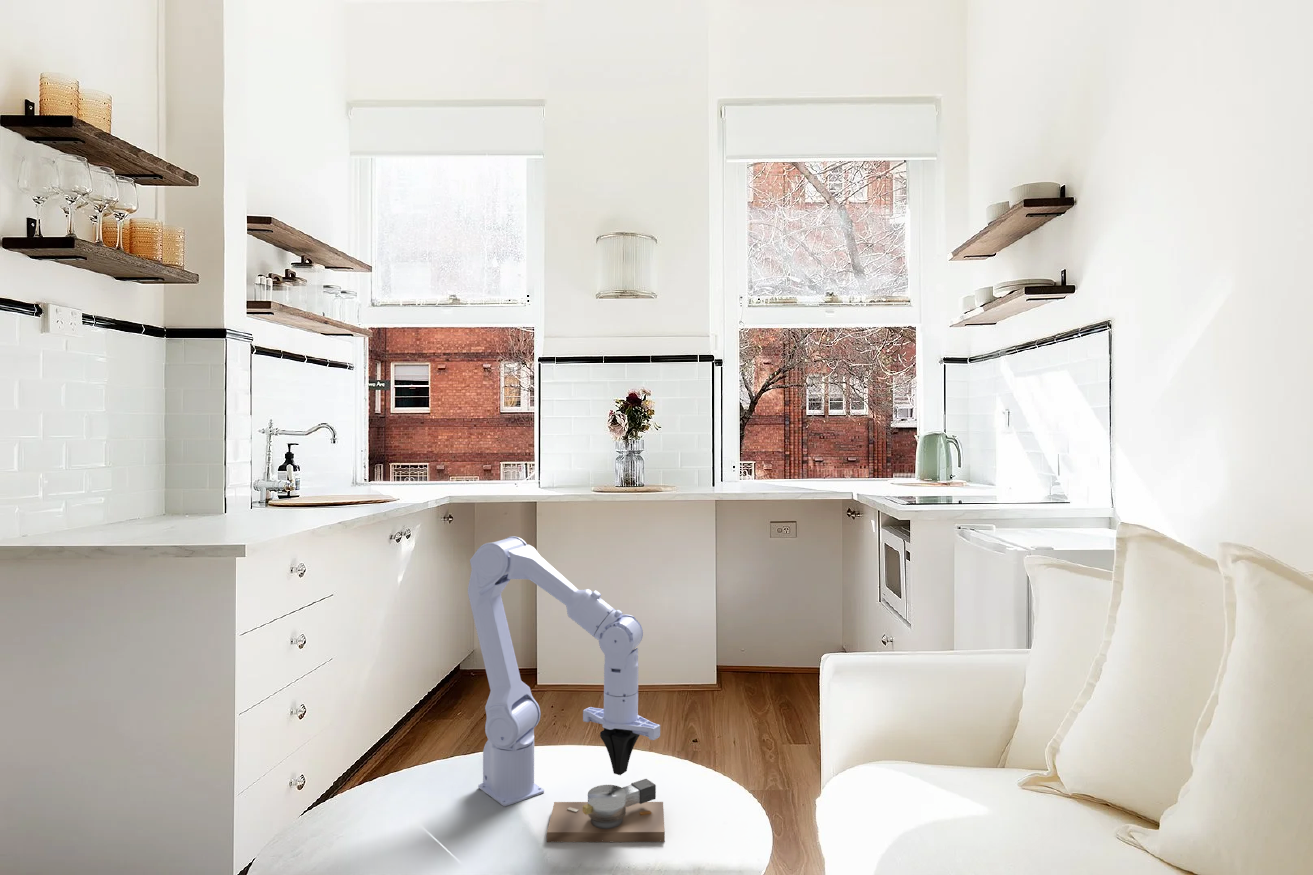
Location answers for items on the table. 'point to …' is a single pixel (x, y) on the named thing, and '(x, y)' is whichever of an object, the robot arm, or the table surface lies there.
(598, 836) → the mounting board
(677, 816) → the table surface
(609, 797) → the silver saucepan
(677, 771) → the table surface
